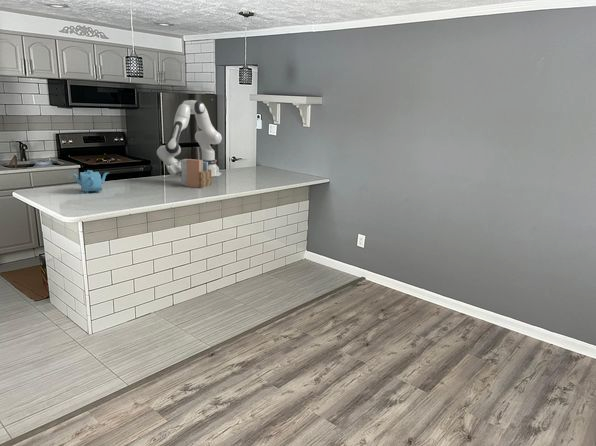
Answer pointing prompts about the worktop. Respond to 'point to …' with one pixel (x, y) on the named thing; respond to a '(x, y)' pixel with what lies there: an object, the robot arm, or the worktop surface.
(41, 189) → the worktop surface
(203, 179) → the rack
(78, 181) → the teakettle
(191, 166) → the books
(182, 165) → the hard drive box
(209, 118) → the robot arm
